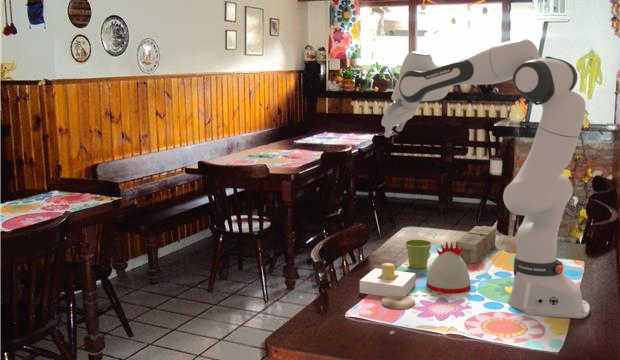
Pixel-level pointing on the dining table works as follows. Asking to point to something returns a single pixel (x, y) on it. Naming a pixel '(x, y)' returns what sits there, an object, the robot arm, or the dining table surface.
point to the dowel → (388, 271)
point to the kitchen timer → (448, 272)
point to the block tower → (476, 243)
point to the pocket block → (387, 283)
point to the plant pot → (418, 253)
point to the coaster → (398, 302)
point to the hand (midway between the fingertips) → (392, 133)
